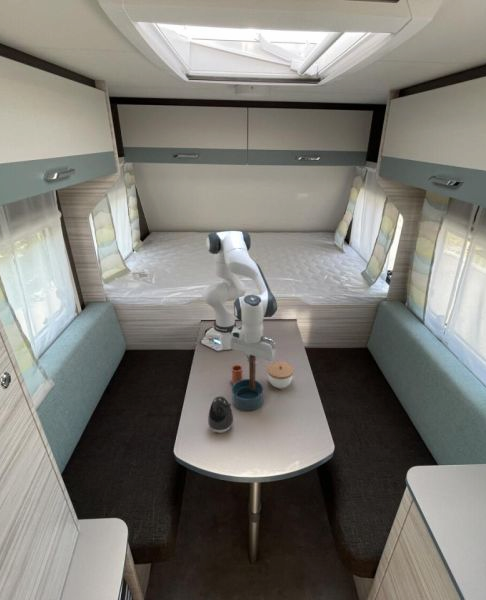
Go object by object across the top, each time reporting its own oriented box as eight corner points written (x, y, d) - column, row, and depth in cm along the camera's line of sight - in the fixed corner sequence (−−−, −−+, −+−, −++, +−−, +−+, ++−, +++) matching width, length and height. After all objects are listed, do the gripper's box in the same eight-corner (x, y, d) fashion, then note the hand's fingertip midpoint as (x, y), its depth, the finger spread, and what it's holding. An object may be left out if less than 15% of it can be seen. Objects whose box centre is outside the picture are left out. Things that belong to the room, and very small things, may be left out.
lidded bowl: (278, 373, 168) (279, 355, 164) (298, 384, 160) (299, 365, 156) (261, 384, 160) (262, 365, 156) (281, 396, 152) (281, 377, 148)
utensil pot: (230, 384, 160) (229, 369, 157) (235, 378, 164) (235, 363, 161) (239, 387, 158) (238, 372, 154) (244, 381, 162) (244, 366, 158)
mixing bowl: (226, 405, 146) (225, 393, 144) (242, 387, 158) (242, 375, 155) (254, 416, 140) (254, 403, 138) (268, 396, 152) (268, 384, 149)
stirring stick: (249, 389, 145) (249, 354, 137) (251, 386, 146) (251, 352, 139) (253, 390, 144) (253, 356, 136) (255, 387, 145) (255, 353, 138)
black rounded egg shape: (223, 441, 128) (222, 410, 122) (203, 430, 133) (201, 400, 127) (238, 424, 136) (237, 395, 130) (218, 415, 141) (217, 386, 135)
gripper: (278, 336, 132) (277, 365, 137) (235, 325, 140) (236, 352, 146) (272, 344, 127) (271, 373, 132) (227, 331, 135) (228, 359, 141)
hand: (252, 362), depth 139 cm, fingers closed on stirring stick, 2 cm apart
